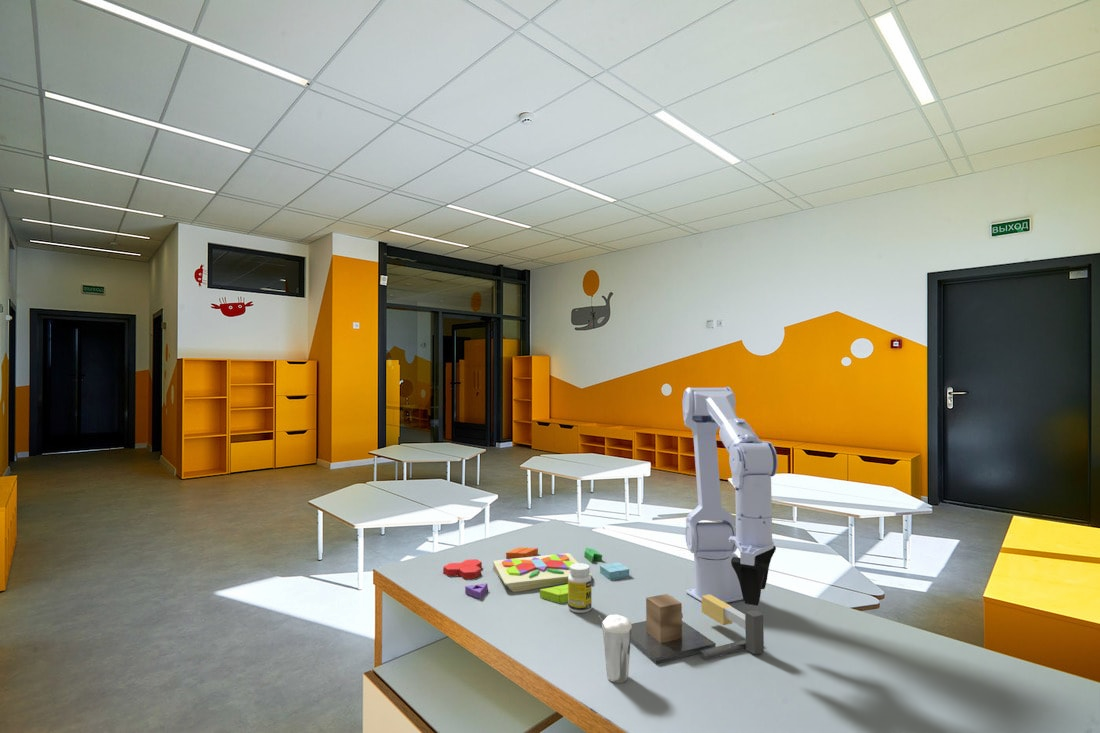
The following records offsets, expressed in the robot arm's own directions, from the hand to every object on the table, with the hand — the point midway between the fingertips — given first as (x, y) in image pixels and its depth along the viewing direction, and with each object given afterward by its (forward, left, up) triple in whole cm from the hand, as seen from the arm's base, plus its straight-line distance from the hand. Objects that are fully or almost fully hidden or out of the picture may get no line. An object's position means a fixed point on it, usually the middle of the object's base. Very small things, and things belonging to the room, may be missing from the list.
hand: (755, 595), depth 90 cm
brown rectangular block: (+12, -10, -8) cm, 17 cm away
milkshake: (+25, -3, -10) cm, 27 cm away
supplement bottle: (+19, -28, -10) cm, 35 cm away
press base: (+8, -9, -9) cm, 15 cm away
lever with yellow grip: (0, -6, -9) cm, 11 cm away
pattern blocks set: (+20, -48, -10) cm, 53 cm away
